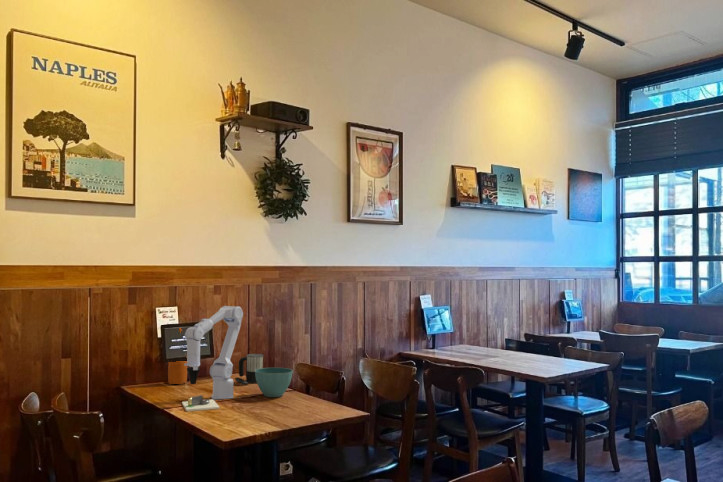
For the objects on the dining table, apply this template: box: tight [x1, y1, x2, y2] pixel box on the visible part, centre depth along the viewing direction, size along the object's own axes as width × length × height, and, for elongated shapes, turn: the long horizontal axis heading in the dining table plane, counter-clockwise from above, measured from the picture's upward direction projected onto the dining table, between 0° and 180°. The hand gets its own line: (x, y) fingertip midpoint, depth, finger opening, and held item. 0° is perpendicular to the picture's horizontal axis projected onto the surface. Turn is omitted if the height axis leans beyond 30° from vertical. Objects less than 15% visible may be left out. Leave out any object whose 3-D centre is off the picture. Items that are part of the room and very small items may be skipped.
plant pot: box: [255, 367, 294, 398], centre depth 293 cm, size 18×18×12 cm
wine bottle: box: [167, 327, 188, 385], centre depth 323 cm, size 10×10×30 cm
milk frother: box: [234, 353, 264, 386], centre depth 326 cm, size 14×16×15 cm
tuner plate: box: [181, 398, 220, 412], centre depth 269 cm, size 14×17×1 cm
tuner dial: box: [187, 394, 210, 406], centre depth 268 cm, size 11×5×3 cm, turn 143°
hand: (193, 383), depth 272 cm, fingers closed
